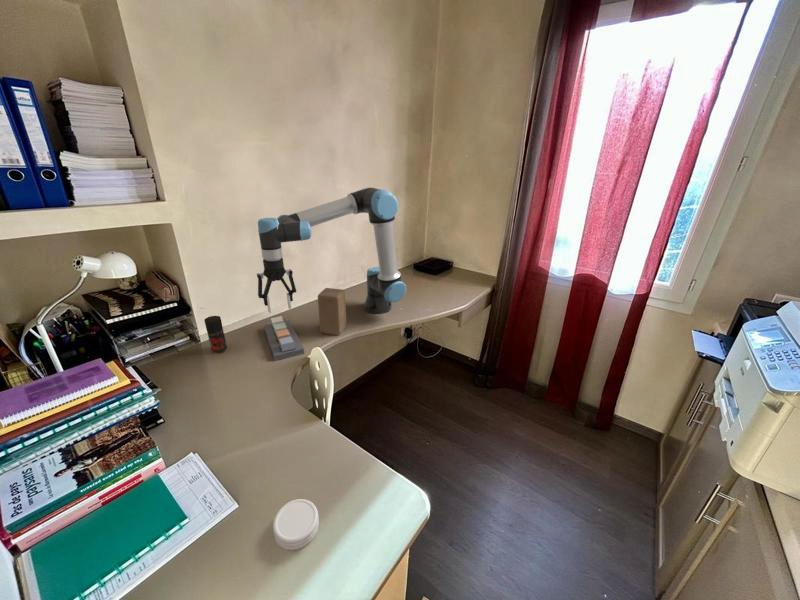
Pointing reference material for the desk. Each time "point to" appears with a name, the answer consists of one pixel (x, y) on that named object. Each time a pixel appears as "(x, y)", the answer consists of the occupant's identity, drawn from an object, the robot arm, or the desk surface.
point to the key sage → (279, 327)
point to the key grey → (276, 320)
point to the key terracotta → (282, 334)
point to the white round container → (296, 524)
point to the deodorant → (215, 334)
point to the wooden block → (332, 311)
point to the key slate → (286, 343)
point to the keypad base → (276, 347)
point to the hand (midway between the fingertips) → (279, 309)
